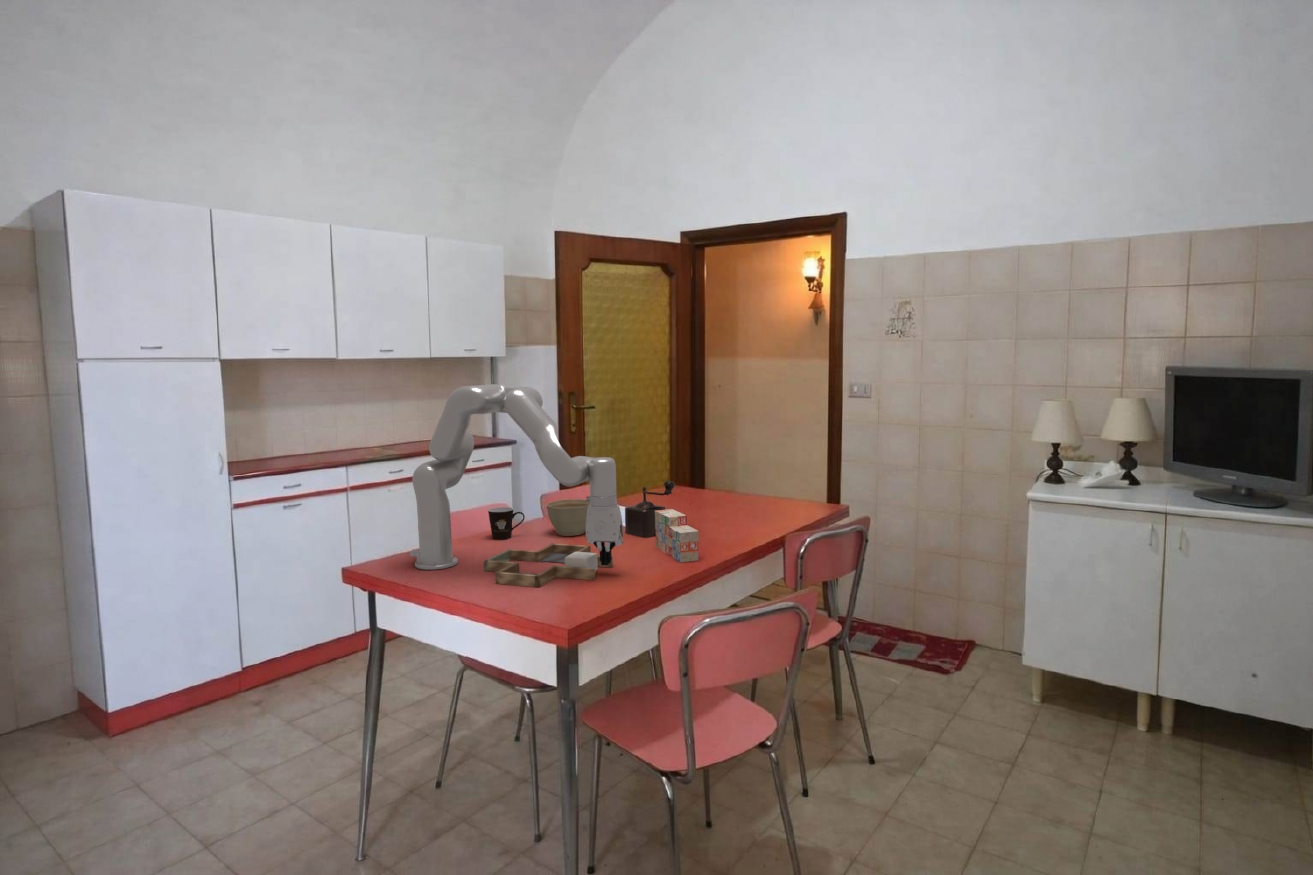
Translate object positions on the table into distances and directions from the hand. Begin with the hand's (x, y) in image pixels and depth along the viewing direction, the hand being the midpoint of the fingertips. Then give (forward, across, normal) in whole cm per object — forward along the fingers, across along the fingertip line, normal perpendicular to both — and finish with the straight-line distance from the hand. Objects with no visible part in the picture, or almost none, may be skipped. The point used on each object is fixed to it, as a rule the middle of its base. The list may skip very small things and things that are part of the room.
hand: (606, 563), depth 222 cm
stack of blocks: (+3, +12, +27) cm, 30 cm away
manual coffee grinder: (+3, -5, +52) cm, 52 cm away
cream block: (+3, -8, 0) cm, 8 cm away
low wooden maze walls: (+3, -19, 0) cm, 19 cm away
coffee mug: (+3, -51, +31) cm, 60 cm away
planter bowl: (+3, -32, +43) cm, 54 cm away
